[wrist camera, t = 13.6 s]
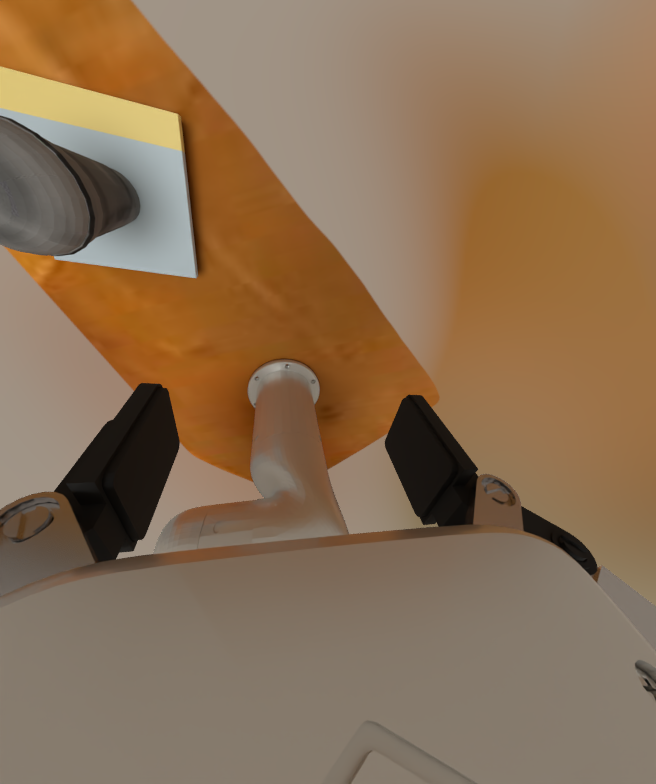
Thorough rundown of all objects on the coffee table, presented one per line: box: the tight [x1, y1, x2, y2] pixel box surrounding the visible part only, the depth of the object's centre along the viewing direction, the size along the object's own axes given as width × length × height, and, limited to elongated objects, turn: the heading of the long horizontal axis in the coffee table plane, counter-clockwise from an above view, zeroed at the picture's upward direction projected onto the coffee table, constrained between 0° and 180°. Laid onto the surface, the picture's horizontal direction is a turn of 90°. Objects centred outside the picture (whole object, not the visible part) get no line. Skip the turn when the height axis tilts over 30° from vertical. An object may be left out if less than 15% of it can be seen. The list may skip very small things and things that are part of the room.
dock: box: [0, 67, 198, 278], centre depth 27 cm, size 14×14×3 cm
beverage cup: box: [0, 116, 140, 256], centre depth 18 cm, size 7×7×20 cm
